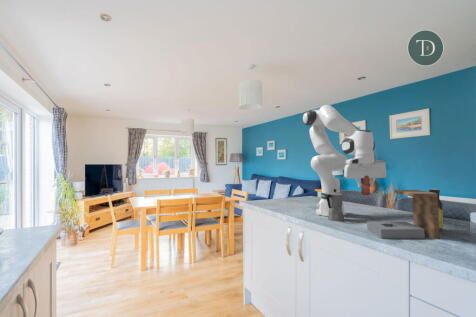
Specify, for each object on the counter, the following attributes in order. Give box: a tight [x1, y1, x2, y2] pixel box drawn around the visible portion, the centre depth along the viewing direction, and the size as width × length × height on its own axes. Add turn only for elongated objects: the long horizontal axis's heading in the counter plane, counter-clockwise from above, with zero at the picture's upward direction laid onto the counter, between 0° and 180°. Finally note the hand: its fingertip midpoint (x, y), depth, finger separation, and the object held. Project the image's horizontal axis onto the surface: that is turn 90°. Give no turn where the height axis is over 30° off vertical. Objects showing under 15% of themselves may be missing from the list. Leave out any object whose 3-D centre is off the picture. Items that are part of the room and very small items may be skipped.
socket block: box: [366, 220, 426, 239], centre depth 113 cm, size 14×18×4 cm
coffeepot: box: [327, 189, 345, 222], centre depth 144 cm, size 15×9×18 cm, turn 129°
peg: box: [360, 176, 371, 196], centre depth 126 cm, size 4×4×10 cm
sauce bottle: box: [428, 188, 444, 232], centre depth 118 cm, size 7×6×20 cm
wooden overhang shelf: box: [394, 189, 440, 239], centre depth 113 cm, size 14×10×20 cm
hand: (365, 186), depth 126 cm, fingers closed on peg, 4 cm apart
